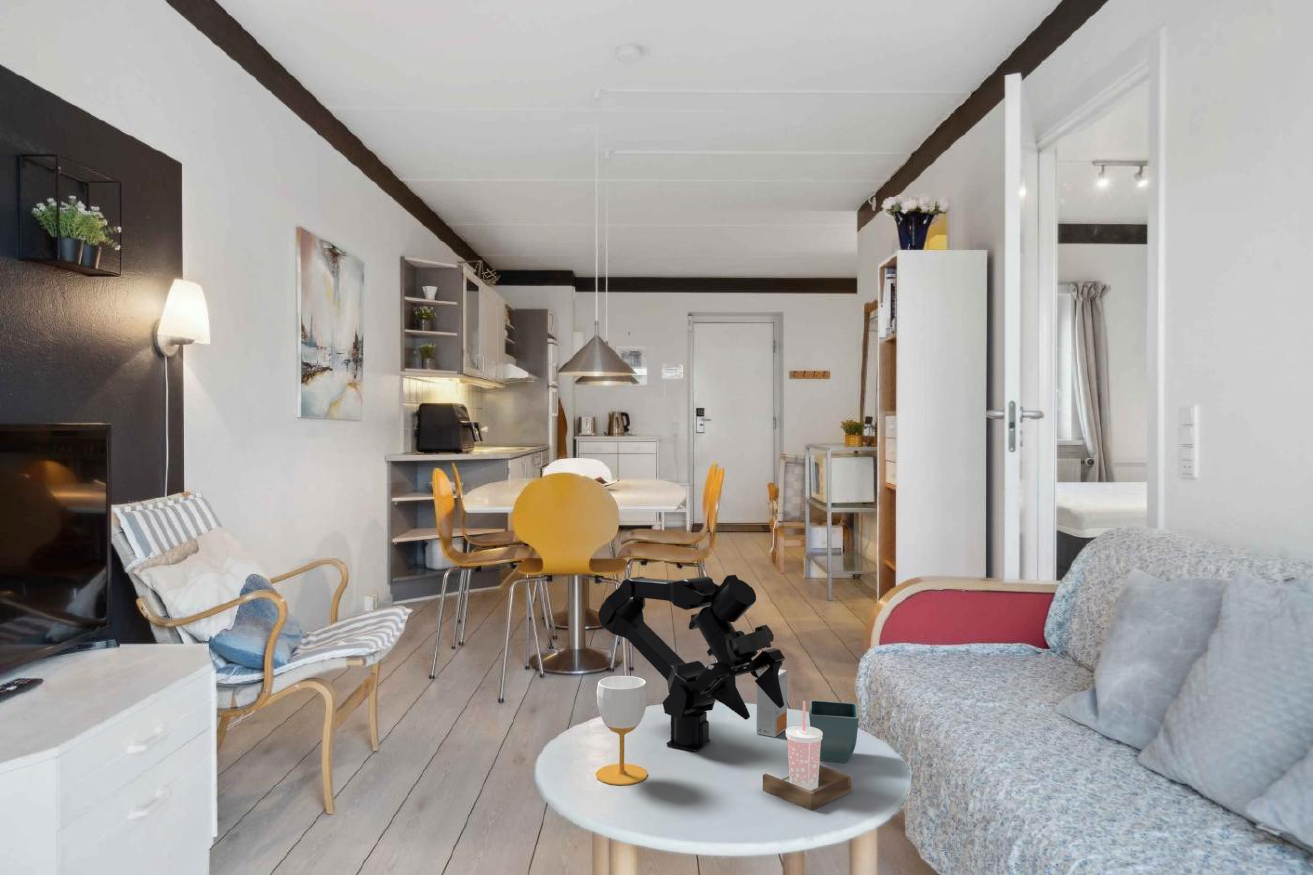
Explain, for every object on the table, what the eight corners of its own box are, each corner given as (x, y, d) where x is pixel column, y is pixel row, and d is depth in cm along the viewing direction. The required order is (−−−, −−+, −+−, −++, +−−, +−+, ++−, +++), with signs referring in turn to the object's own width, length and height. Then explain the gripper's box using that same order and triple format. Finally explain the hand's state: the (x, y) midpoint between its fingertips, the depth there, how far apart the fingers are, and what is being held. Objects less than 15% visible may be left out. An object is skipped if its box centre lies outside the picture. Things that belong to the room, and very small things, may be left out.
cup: (623, 761, 147) (624, 672, 148) (658, 775, 141) (659, 682, 141) (584, 774, 141) (585, 681, 141) (619, 790, 135) (620, 692, 135)
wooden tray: (762, 790, 135) (762, 774, 135) (802, 773, 142) (802, 758, 142) (811, 810, 127) (811, 793, 127) (851, 791, 134) (851, 776, 134)
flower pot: (859, 768, 144) (859, 717, 145) (808, 764, 146) (808, 714, 146) (857, 750, 153) (857, 702, 153) (809, 747, 155) (809, 699, 155)
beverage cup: (816, 778, 138) (816, 695, 138) (827, 793, 132) (827, 706, 132) (781, 779, 138) (781, 696, 138) (790, 794, 132) (790, 707, 132)
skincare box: (775, 738, 160) (775, 676, 160) (755, 734, 162) (756, 673, 162) (787, 729, 165) (787, 669, 165) (768, 725, 167) (768, 666, 167)
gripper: (709, 618, 139) (756, 699, 131) (778, 604, 152) (825, 678, 144) (676, 653, 145) (719, 733, 137) (745, 637, 158) (788, 710, 150)
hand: (765, 712), depth 142 cm, fingers open, 9 cm apart
